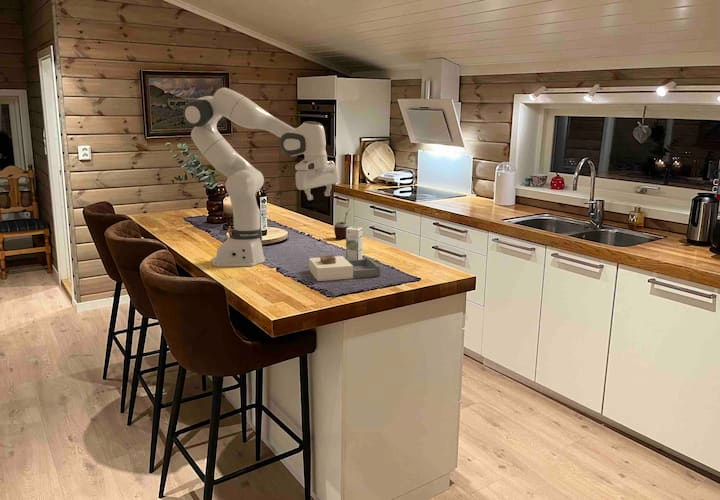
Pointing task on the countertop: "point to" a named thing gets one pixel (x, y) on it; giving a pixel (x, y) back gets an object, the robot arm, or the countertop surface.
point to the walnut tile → (328, 259)
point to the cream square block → (331, 269)
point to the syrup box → (354, 243)
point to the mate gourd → (341, 229)
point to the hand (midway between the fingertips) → (319, 197)
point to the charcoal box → (364, 268)
